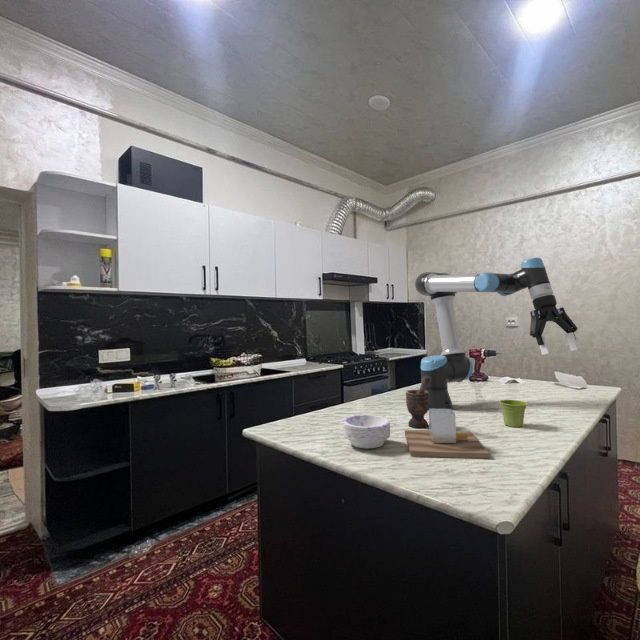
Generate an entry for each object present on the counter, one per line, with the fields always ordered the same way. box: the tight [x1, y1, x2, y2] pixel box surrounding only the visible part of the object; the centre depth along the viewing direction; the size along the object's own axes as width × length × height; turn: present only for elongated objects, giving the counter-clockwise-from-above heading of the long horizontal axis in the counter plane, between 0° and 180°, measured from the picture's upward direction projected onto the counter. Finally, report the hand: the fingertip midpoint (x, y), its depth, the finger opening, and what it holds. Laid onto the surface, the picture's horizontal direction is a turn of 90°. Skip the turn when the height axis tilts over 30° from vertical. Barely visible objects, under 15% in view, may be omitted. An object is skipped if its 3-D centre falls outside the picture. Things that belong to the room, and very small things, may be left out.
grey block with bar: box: [428, 408, 467, 443], centre depth 118 cm, size 11×7×9 cm, turn 81°
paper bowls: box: [342, 414, 391, 450], centre depth 121 cm, size 15×15×8 cm
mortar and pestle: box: [405, 375, 431, 429], centre depth 139 cm, size 12×9×20 cm
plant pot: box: [498, 399, 528, 428], centre depth 138 cm, size 9×9×9 cm
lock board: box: [404, 429, 490, 460], centre depth 118 cm, size 22×22×2 cm
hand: (560, 352), depth 134 cm, fingers open, 13 cm apart
